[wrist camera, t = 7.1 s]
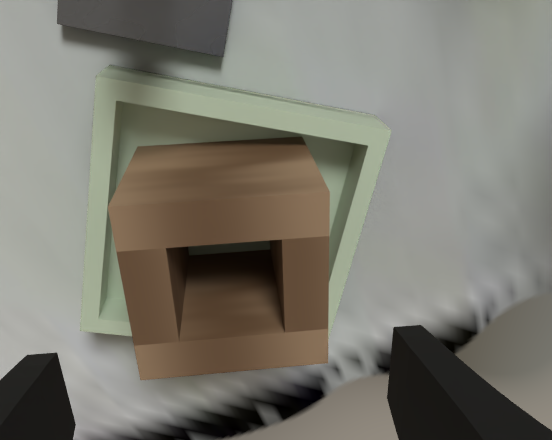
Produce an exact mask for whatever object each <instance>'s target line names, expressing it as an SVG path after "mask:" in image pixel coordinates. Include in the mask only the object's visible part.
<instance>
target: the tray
mask: <svg viewBox="0 0 552 440" xmlns="http://www.w3.org/2000/svg"><path fill="white" fill-rule="evenodd" d="M390 135H391V130H390V129H389V128H388V127H387V126H386V125H385V124H384V123H383V122H382V121H380V120H379V119H378V118H377V117H376V116H375V115H371V114H365V113H360V112H355V111H350V110H344V109H339V108H334V107H328V106H323V105H318V104H313V103H307V102H302V101H297V100H292V99H286V98H281V97H276V96H270V95H265V94H260V93H255V92H249V91H244V90H239V89H234V88H228V87H223V86H218V85H212V84H207V83H202V82H197V81H191V80H186V79H181V78H176V77H170V76H165V75H160V74H154V73H149V72H144V71H139V70H133V69H128V68H123V67H118V66H112V65H109V66H108V67H106V68H105V69H104V70H103V71H101V72H100V73H99V74H98V75H96V83H95V99H94V115H93V131H92V147H91V163H90V179H89V195H88V211H87V226H86V242H85V258H84V274H83V290H82V306H81V322H80V331H85V332H94V333H104V334H114V335H123V336H132V332H131V327H130V322H129V316H128V311H127V306H126V301H125V295H124V290H123V285H122V280H121V274H120V269H119V264H118V259H117V253H116V248H115V243H114V237H113V232H112V227H111V222H110V216H109V211H108V205H109V203H110V201H111V199H112V197H113V195H114V193H115V191H116V189H117V187H118V185H119V183H120V181H121V179H122V177H123V175H124V173H125V171H126V169H127V167H128V165H129V163H130V161H131V159H132V157H133V155H134V153H135V151H136V149H137V147H138V146H153V145H169V144H186V143H202V142H219V141H235V140H252V139H268V138H285V137H303V139H304V141H305V143H306V145H307V147H308V149H309V151H310V153H311V155H312V157H313V159H314V161H315V163H316V165H317V167H318V169H319V171H320V173H321V175H322V177H323V179H324V181H325V183H326V185H327V187H328V189H329V191H330V223H329V313H328V339H329V336H330V333H331V329H332V326H333V323H334V320H335V316H336V313H337V310H338V306H339V303H340V300H341V296H342V293H343V290H344V287H345V283H346V280H347V277H348V273H349V270H350V267H351V263H352V260H353V257H354V253H355V250H356V247H357V244H358V240H359V237H360V234H361V230H362V227H363V224H364V220H365V217H366V214H367V211H368V207H369V204H370V201H371V197H372V194H373V191H374V187H375V184H376V181H377V177H378V174H379V171H380V168H381V164H382V161H383V158H384V154H385V151H386V148H387V144H388V141H389V138H390ZM269 249H270V240H268V241H255V242H241V243H228V244H214V245H201V246H188V250H189V255H203V254H216V253H229V252H242V251H256V250H269Z"/></svg>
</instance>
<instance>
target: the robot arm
mask: <svg viewBox="0 0 552 440" xmlns="http://www.w3.org/2000/svg"><path fill="white" fill-rule="evenodd" d="M387 399H388V403H389V406H390V410H391V414H392V417H393V421H394V425H395V428H396V432H397V435H398V438H399V440H552V431H551V430H550V429H548V428H547V427H546V426H544V425H543V424H541V423H540V422H538V421H537V420H536V419H534V418H533V417H532V416H530V415H529V414H528V413H526V412H525V411H523V410H522V409H521V408H520V407H518V406H517V405H516V404H514V403H513V402H511V401H510V400H509V399H508V398H506V397H505V396H504V395H503V394H501V393H500V392H499V391H497V390H496V389H495V388H494V387H492V386H491V385H490V384H489V383H488V382H486V381H485V380H484V379H482V378H481V377H480V376H479V375H478V374H477V373H475V372H474V371H473V370H472V369H471V368H470V367H468V366H467V365H466V364H465V363H464V362H463V361H461V360H460V359H459V358H458V357H457V356H456V355H455V354H453V353H452V352H451V351H450V350H449V349H448V348H447V347H445V346H444V345H443V344H442V343H441V342H440V341H439V340H437V339H436V338H435V337H434V336H433V335H432V334H431V333H429V332H428V331H427V330H426V329H425V328H424V327H422V326H421V325H416V326H403V327H394V329H393V340H392V351H391V362H390V373H389V384H388V395H387ZM75 425H76V424H75V420H74V416H73V413H72V409H71V405H70V401H69V397H68V393H67V390H66V386H65V382H64V378H63V374H62V370H61V366H60V363H59V359H58V355H57V353H47V354H34V355H27V356H26V357H24V358H23V359H22V360H21V361H20V362H19V363H18V364H17V365H16V366H15V367H14V368H13V369H11V370H10V371H9V372H8V373H7V374H6V375H5V376H4V377H3V378H2V379H1V380H0V440H73V435H74V430H75Z"/></svg>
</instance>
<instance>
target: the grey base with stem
mask: <svg viewBox="0 0 552 440" xmlns="http://www.w3.org/2000/svg"><path fill="white" fill-rule="evenodd" d="M231 5H232V0H58V12H57V24H60V25H65V26H70V27H75V28H80V29H85V30H90V31H96V32H101V33H106V34H111V35H116V36H121V37H126V38H131V39H136V40H141V41H146V42H151V43H156V44H161V45H166V46H171V47H176V48H181V49H186V50H191V51H196V52H201V53H206V54H211V55H216V56H221V57H223V55H224V49H225V43H226V37H227V30H228V24H229V18H230V11H231Z"/></svg>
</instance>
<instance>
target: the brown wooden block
mask: <svg viewBox="0 0 552 440" xmlns="http://www.w3.org/2000/svg"><path fill="white" fill-rule="evenodd" d="M108 211H109V216H110V222H111V227H112V232H113V237H114V243H115V248H116V253H117V259H118V264H119V269H120V274H121V280H122V285H123V290H124V295H125V301H126V306H127V311H128V316H129V322H130V327H131V332H132V337H133V343H134V348H135V353H136V359H137V364H138V369H139V374H140V380H148V379H159V378H170V377H181V376H192V375H203V374H214V373H225V372H235V371H246V370H257V369H268V368H279V367H290V366H301V365H312V364H323V363H328V313H329V223H330V191H329V189H328V187H327V185H326V183H325V181H324V179H323V177H322V175H321V173H320V171H319V169H318V167H317V165H316V163H315V161H314V159H313V157H312V155H311V153H310V151H309V149H308V147H307V145H306V143H305V141H304V139H303V137H285V138H268V139H252V140H235V141H219V142H202V143H186V144H169V145H153V146H138V147H137V149H136V151H135V153H134V155H133V157H132V159H131V161H130V163H129V165H128V167H127V169H126V171H125V173H124V175H123V177H122V179H121V181H120V183H119V185H118V187H117V189H116V191H115V193H114V195H113V197H112V199H111V201H110V203H109V205H108ZM268 240H270V249H269V250H256V251H242V252H229V253H216V254H203V255H189V250H188V246H201V245H214V244H228V243H241V242H255V241H268Z"/></svg>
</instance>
